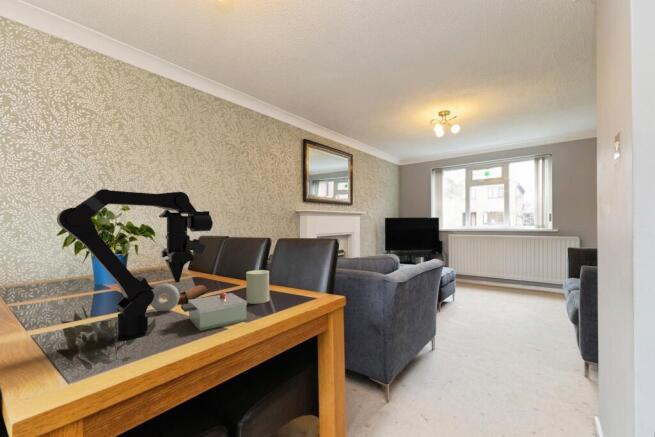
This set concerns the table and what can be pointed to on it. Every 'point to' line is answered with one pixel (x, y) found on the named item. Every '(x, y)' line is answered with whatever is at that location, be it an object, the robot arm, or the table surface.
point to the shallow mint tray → (218, 317)
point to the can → (257, 286)
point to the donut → (172, 294)
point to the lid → (213, 303)
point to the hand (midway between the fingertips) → (177, 282)
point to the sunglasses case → (191, 294)
